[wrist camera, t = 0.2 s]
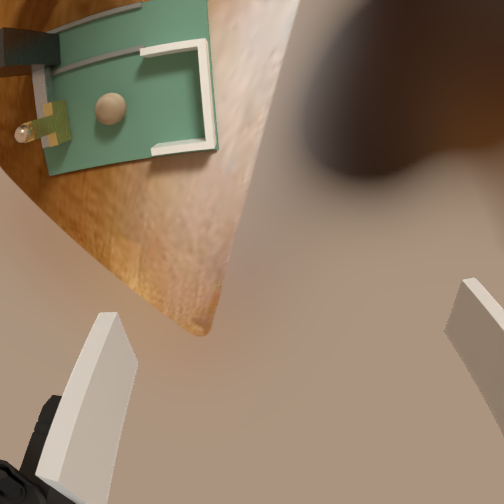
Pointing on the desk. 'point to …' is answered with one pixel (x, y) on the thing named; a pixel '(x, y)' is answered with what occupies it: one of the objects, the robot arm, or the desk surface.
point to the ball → (110, 108)
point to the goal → (205, 92)
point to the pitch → (129, 82)
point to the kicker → (36, 82)
